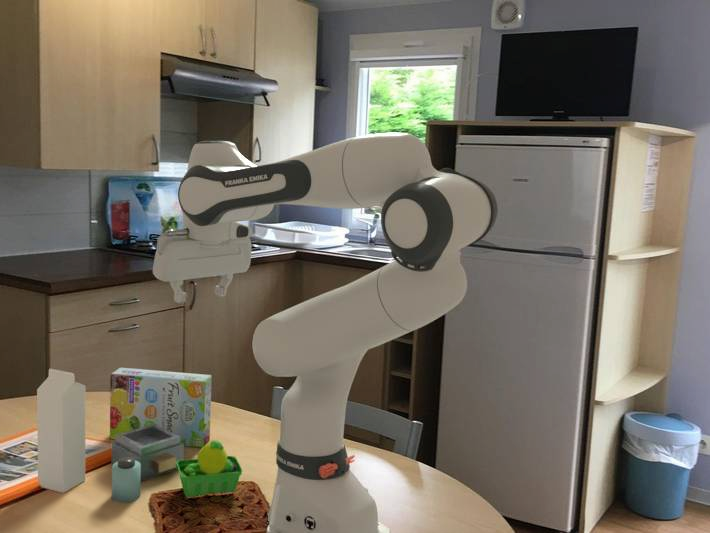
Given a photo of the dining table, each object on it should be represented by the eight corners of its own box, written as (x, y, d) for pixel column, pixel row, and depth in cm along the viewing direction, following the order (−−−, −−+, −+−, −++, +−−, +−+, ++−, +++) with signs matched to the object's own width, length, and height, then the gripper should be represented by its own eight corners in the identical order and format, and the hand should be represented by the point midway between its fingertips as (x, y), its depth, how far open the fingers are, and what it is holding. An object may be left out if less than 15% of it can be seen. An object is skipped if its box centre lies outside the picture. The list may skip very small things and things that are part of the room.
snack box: (210, 439, 165) (212, 373, 163) (203, 449, 160) (205, 381, 157) (118, 430, 167) (119, 365, 165) (108, 439, 161) (108, 373, 159)
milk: (60, 474, 144) (60, 364, 141) (86, 481, 142) (86, 369, 138) (37, 486, 138) (36, 372, 135) (62, 493, 136) (62, 377, 133)
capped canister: (145, 496, 137) (146, 460, 136) (121, 505, 133) (122, 468, 132) (130, 487, 140) (130, 452, 139) (106, 495, 136) (106, 459, 135)
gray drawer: (188, 469, 149) (188, 439, 148) (145, 485, 141) (145, 452, 140) (154, 452, 156) (154, 422, 155) (111, 465, 149) (111, 434, 148)
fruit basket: (234, 479, 146) (235, 424, 144) (244, 499, 138) (246, 442, 136) (175, 485, 142) (176, 429, 140) (181, 507, 134) (183, 447, 132)
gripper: (169, 234, 128) (163, 310, 131) (259, 228, 143) (251, 296, 146) (148, 226, 132) (143, 300, 135) (238, 221, 147) (231, 287, 150)
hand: (200, 298), depth 141 cm, fingers open, 8 cm apart
